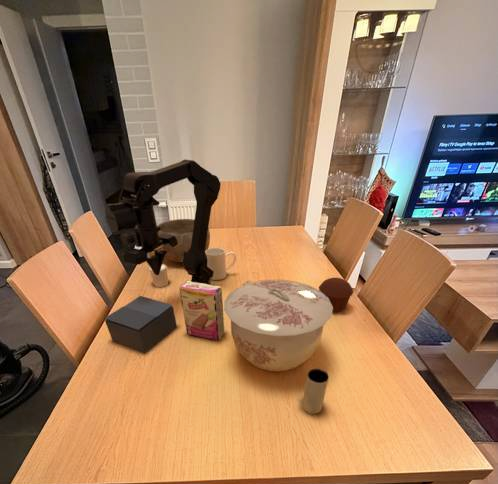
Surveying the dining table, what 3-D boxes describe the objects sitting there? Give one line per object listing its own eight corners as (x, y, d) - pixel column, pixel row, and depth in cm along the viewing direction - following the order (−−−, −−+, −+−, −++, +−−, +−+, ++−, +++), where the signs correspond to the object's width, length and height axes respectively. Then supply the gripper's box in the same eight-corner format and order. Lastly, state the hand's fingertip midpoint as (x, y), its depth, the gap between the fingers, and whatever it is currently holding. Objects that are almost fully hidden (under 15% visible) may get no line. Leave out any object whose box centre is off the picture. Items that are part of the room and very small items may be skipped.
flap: (140, 296, 96) (140, 295, 96) (172, 305, 92) (172, 304, 92) (123, 307, 92) (123, 306, 91) (156, 318, 87) (156, 316, 87)
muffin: (309, 306, 107) (313, 280, 100) (326, 295, 113) (330, 270, 106) (339, 318, 101) (345, 291, 94) (355, 306, 107) (361, 280, 100)
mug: (207, 281, 122) (205, 255, 116) (207, 272, 128) (204, 248, 122) (237, 279, 124) (236, 254, 117) (235, 271, 130) (234, 246, 123)
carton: (146, 317, 102) (140, 295, 96) (177, 327, 97) (172, 304, 92) (112, 341, 91) (103, 318, 86) (145, 353, 87) (138, 329, 82)
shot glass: (165, 288, 118) (162, 271, 113) (149, 286, 119) (145, 270, 114) (172, 280, 123) (169, 264, 118) (156, 279, 124) (153, 263, 119)
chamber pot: (323, 394, 74) (339, 324, 61) (216, 381, 78) (209, 312, 65) (322, 330, 95) (334, 268, 82) (237, 322, 99) (236, 261, 86)
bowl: (222, 255, 143) (220, 222, 133) (188, 274, 127) (183, 238, 118) (184, 246, 153) (180, 214, 143) (148, 262, 137) (141, 228, 127)
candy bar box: (186, 335, 94) (178, 287, 83) (193, 326, 97) (186, 279, 87) (219, 342, 91) (214, 293, 80) (225, 333, 94) (222, 285, 84)
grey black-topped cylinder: (300, 400, 73) (305, 369, 66) (318, 398, 73) (325, 367, 67) (304, 414, 70) (310, 383, 63) (323, 413, 70) (331, 382, 63)
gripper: (146, 212, 96) (156, 260, 106) (101, 229, 83) (117, 281, 94) (174, 217, 92) (182, 265, 102) (131, 235, 80) (144, 288, 90)
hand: (157, 274), depth 97 cm, fingers closed
